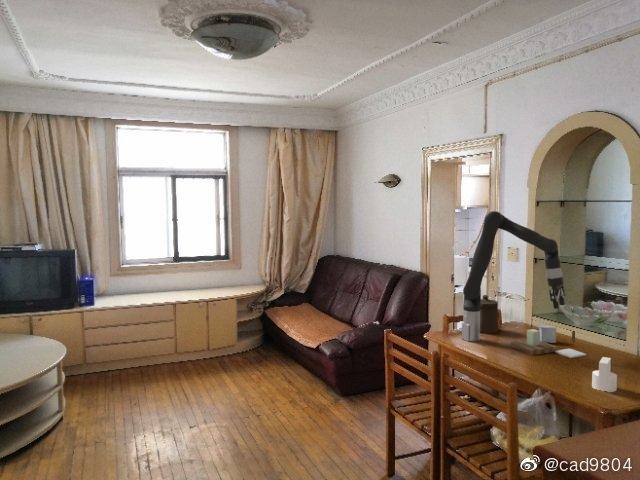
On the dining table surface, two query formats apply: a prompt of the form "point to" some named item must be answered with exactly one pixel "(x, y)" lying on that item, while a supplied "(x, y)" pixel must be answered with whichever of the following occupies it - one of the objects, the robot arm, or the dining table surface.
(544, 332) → the medicine box
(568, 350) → the tile
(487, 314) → the wooden container
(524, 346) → the pocket board
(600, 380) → the cylinder with rectangular tab
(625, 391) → the dining table surface
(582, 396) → the dining table surface
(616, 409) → the dining table surface
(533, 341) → the green block
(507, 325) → the dining table surface
